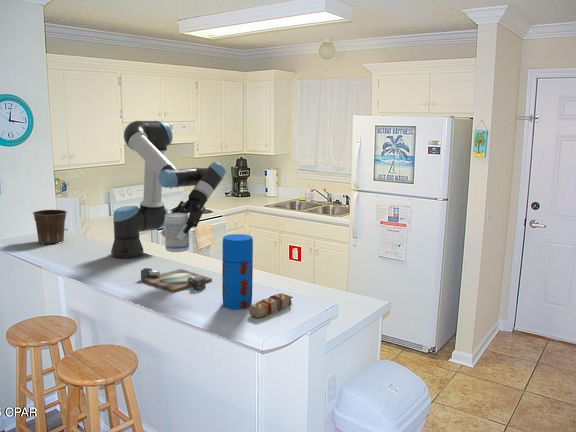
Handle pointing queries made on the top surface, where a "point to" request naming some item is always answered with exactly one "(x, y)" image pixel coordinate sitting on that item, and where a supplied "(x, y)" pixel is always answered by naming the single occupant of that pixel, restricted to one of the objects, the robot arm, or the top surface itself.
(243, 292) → the thermos
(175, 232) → the supplement tub
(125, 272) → the top surface
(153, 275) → the shaft
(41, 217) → the plant pot
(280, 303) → the skewer
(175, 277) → the board
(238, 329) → the top surface
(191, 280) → the shaft
